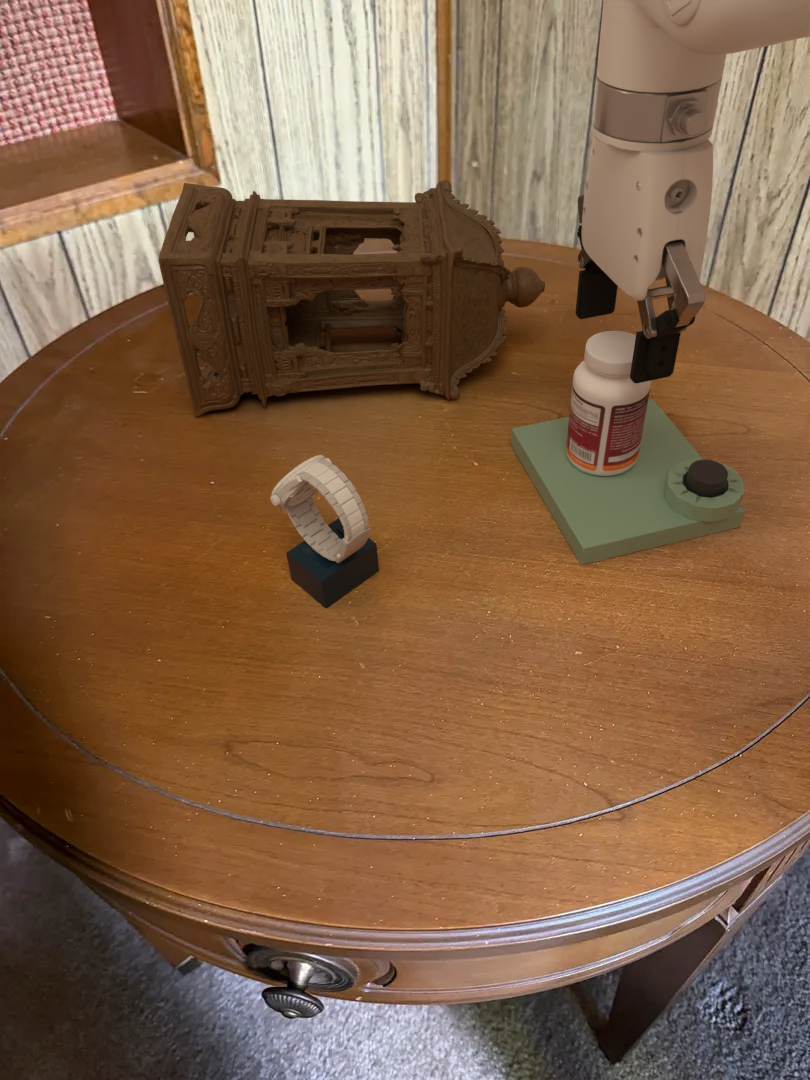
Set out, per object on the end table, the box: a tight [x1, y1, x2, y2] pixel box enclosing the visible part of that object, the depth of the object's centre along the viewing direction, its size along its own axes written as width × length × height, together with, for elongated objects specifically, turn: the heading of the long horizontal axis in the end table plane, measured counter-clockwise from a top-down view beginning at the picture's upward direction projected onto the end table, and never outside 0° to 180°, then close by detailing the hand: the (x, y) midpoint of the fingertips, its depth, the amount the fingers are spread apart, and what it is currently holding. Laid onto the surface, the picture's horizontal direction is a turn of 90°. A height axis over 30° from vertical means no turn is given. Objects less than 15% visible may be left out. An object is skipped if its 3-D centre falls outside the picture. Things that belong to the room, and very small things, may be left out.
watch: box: [269, 454, 380, 609], centre depth 64 cm, size 6×8×11 cm
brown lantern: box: [158, 179, 546, 417], centre depth 83 cm, size 35×18×18 cm, turn 92°
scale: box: [510, 398, 746, 566], centre depth 73 cm, size 16×14×4 cm
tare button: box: [686, 458, 728, 498], centre depth 68 cm, size 3×3×2 cm
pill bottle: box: [566, 330, 652, 476], centre depth 70 cm, size 6×6×11 cm
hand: (621, 344), depth 65 cm, fingers open, 9 cm apart
